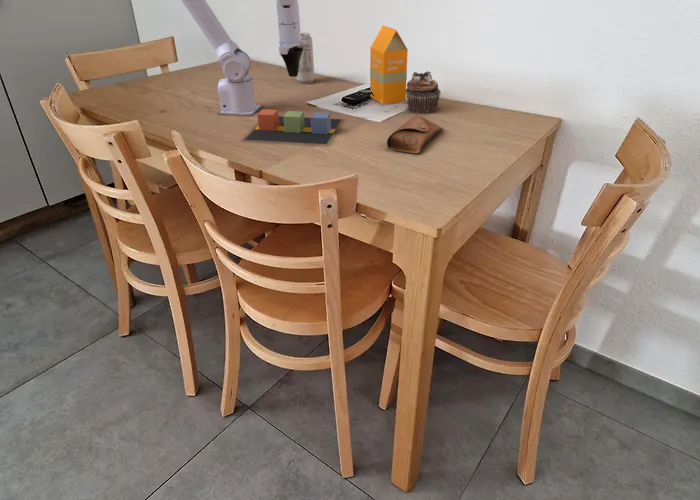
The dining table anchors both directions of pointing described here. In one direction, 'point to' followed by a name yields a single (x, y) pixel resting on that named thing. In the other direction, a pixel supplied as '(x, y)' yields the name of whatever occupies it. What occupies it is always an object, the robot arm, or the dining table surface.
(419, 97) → the cupcake
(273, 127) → the terracotta block
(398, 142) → the sunglasses case
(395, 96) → the orange juice
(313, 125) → the blue block
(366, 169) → the dining table surface
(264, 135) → the line mat
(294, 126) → the sage block
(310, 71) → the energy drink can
